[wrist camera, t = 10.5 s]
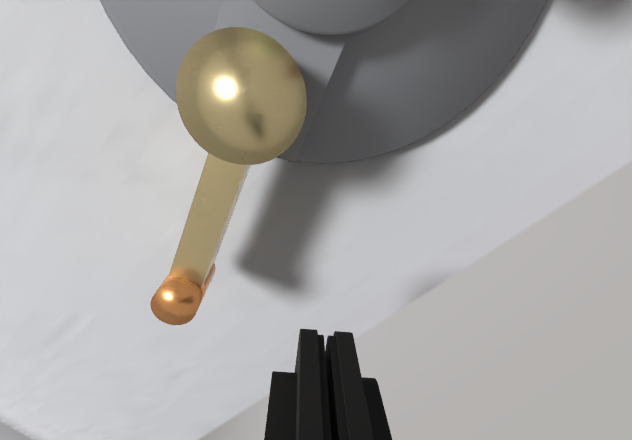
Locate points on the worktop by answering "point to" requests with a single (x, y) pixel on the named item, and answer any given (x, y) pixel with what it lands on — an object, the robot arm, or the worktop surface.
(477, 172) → the worktop surface
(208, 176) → the knob
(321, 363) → the robot arm
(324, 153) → the tribrach
